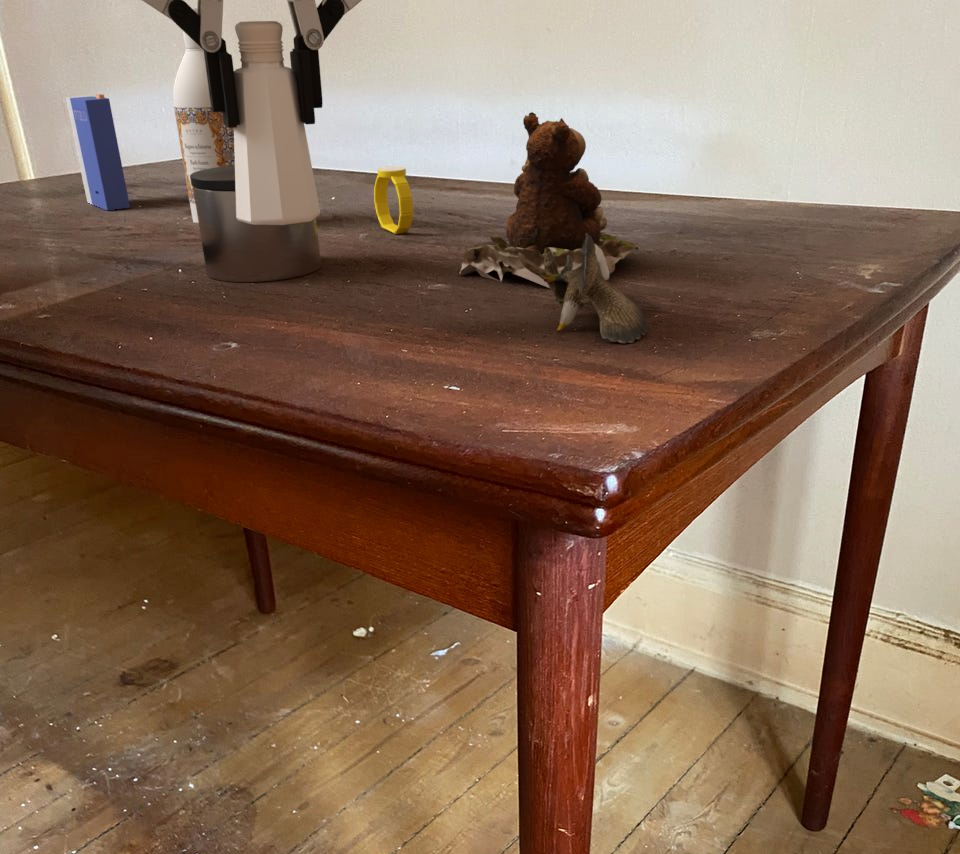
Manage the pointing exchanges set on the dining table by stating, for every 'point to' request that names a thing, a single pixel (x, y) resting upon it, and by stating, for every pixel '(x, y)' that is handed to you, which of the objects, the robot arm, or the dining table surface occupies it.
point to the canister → (248, 236)
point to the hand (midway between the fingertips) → (268, 120)
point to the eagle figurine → (591, 293)
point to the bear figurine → (549, 209)
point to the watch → (403, 194)
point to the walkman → (98, 151)
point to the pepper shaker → (270, 134)
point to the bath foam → (199, 120)
